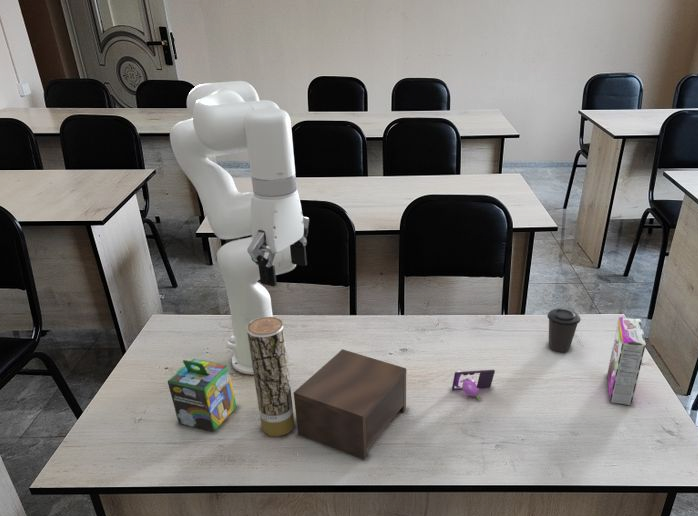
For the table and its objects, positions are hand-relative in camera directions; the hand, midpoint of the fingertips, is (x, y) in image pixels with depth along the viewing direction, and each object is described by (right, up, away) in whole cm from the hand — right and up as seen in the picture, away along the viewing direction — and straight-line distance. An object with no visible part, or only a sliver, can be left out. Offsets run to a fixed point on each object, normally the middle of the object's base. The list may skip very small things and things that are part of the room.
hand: (284, 274), depth 114 cm
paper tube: (-4, -31, +14) cm, 34 cm away
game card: (+38, -25, +24) cm, 52 cm away
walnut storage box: (+12, -30, +16) cm, 36 cm away
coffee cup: (+62, -15, +41) cm, 76 cm away
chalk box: (-20, -29, +17) cm, 39 cm away
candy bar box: (+72, -24, +26) cm, 80 cm away
